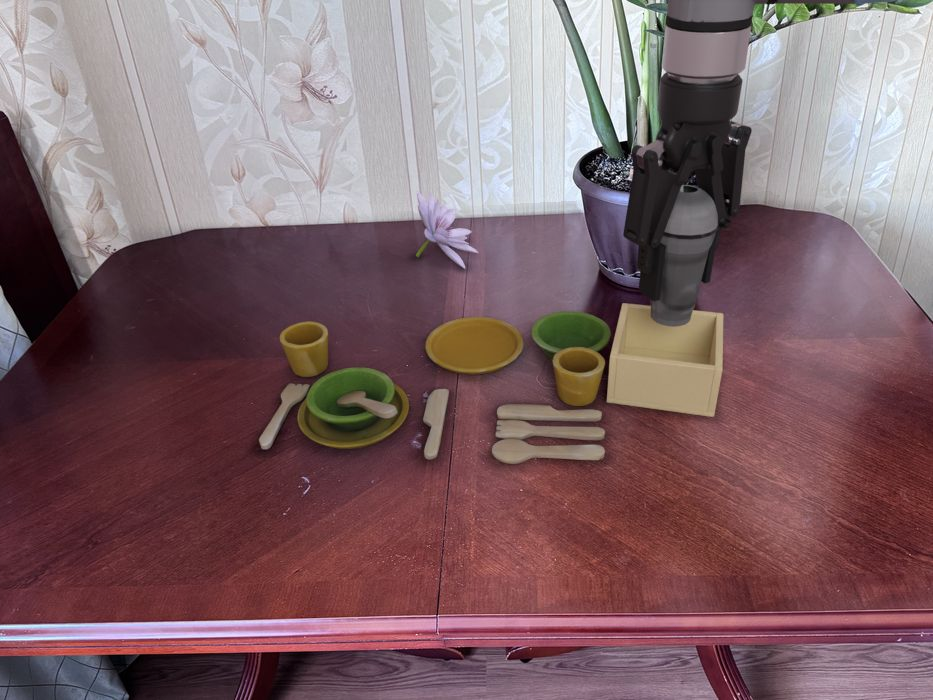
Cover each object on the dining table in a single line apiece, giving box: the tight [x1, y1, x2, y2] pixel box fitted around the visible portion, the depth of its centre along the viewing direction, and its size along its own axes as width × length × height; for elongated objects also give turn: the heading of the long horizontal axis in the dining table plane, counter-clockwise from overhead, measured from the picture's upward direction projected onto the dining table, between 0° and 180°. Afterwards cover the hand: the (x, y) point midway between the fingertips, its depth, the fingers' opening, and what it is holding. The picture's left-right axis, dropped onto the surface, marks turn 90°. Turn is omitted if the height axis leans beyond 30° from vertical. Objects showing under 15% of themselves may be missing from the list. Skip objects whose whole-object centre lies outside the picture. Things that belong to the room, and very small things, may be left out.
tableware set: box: [258, 310, 612, 465], centre depth 89 cm, size 41×28×6 cm
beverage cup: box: [649, 184, 718, 327], centre depth 79 cm, size 7×7×20 cm
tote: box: [606, 302, 724, 418], centre depth 87 cm, size 12×12×7 cm
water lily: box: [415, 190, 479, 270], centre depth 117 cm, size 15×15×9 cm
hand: (674, 286), depth 82 cm, fingers closed on beverage cup, 6 cm apart
